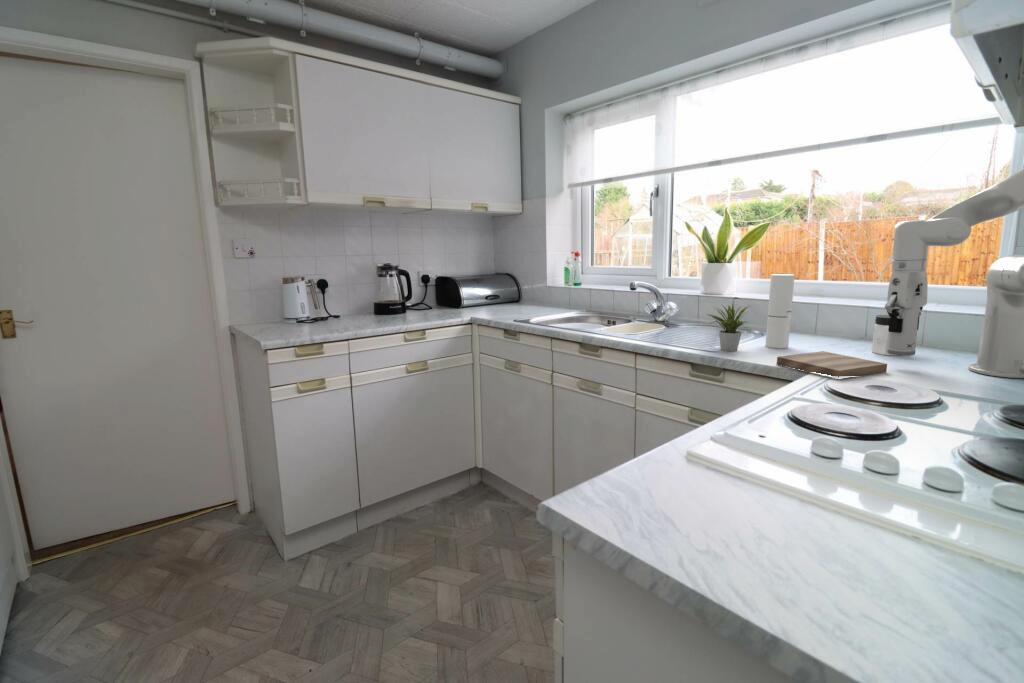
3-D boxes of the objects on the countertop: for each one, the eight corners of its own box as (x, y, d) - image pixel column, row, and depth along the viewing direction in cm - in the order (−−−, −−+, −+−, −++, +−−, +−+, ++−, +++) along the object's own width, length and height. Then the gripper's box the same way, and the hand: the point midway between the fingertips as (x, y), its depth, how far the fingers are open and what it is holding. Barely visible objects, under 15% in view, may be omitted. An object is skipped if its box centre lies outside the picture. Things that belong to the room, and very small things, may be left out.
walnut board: (886, 372, 138) (887, 363, 137) (838, 379, 131) (839, 370, 131) (822, 358, 155) (822, 351, 155) (776, 364, 148) (777, 356, 148)
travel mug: (916, 356, 137) (923, 283, 134) (886, 354, 141) (892, 283, 138) (916, 352, 142) (922, 281, 139) (887, 350, 146) (892, 282, 143)
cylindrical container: (793, 347, 174) (799, 274, 169) (777, 349, 171) (784, 275, 166) (775, 343, 180) (781, 273, 176) (760, 345, 178) (766, 274, 173)
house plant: (731, 344, 181) (734, 299, 178) (762, 351, 168) (766, 302, 165) (699, 347, 176) (702, 301, 173) (729, 354, 163) (733, 304, 160)
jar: (864, 351, 165) (868, 315, 163) (882, 349, 168) (887, 314, 166) (891, 356, 157) (896, 319, 155) (910, 354, 159) (915, 317, 157)
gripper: (902, 268, 131) (897, 336, 134) (944, 264, 137) (938, 329, 140) (873, 268, 138) (868, 332, 141) (914, 264, 144) (908, 326, 147)
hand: (903, 330), depth 140 cm, fingers closed on travel mug, 6 cm apart
